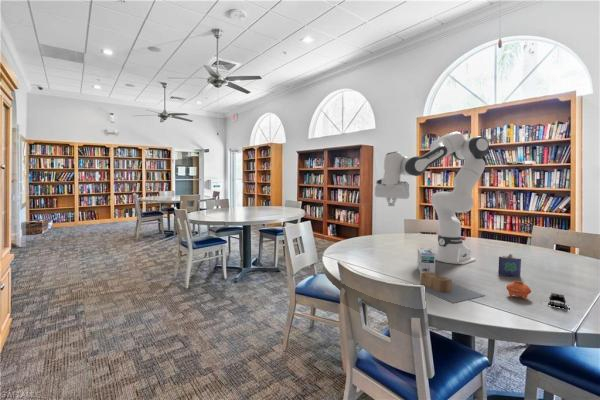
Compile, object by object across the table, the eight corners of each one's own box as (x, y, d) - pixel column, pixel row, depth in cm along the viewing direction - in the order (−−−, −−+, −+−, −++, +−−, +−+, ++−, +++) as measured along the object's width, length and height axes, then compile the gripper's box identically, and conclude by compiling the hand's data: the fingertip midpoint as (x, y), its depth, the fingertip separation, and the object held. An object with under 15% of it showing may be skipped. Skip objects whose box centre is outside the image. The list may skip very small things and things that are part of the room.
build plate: (535, 305, 113) (536, 293, 113) (535, 299, 119) (536, 288, 119) (580, 315, 106) (581, 302, 105) (578, 308, 111) (579, 296, 111)
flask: (519, 275, 146) (520, 253, 146) (521, 277, 144) (523, 255, 143) (497, 273, 149) (498, 252, 148) (499, 275, 146) (500, 253, 145)
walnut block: (428, 271, 136) (451, 279, 125) (428, 281, 137) (451, 291, 126) (420, 272, 134) (443, 280, 123) (419, 283, 135) (442, 292, 124)
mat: (446, 281, 138) (446, 281, 138) (485, 295, 121) (485, 295, 121) (416, 287, 130) (416, 286, 130) (453, 303, 114) (453, 302, 114)
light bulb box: (435, 275, 147) (436, 253, 146) (420, 274, 148) (421, 252, 147) (430, 268, 157) (431, 248, 156) (416, 268, 158) (417, 247, 158)
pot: (536, 298, 118) (535, 282, 117) (522, 305, 116) (520, 289, 115) (516, 290, 125) (515, 275, 124) (502, 297, 123) (500, 281, 122)
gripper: (412, 181, 161) (411, 207, 162) (380, 180, 177) (379, 204, 178) (405, 181, 157) (404, 208, 158) (373, 181, 173) (372, 205, 174)
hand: (391, 206), depth 169 cm, fingers closed
